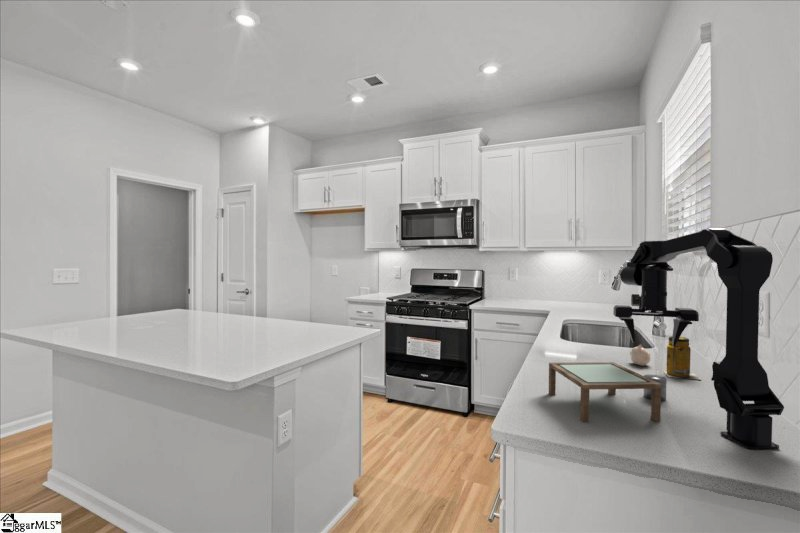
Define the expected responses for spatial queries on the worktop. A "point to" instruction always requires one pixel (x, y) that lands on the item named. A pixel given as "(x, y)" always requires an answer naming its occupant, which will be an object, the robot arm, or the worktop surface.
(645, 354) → the garlic bulb
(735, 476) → the worktop surface
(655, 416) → the stand
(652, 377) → the cylinder
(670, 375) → the condiment
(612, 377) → the trapdoor
